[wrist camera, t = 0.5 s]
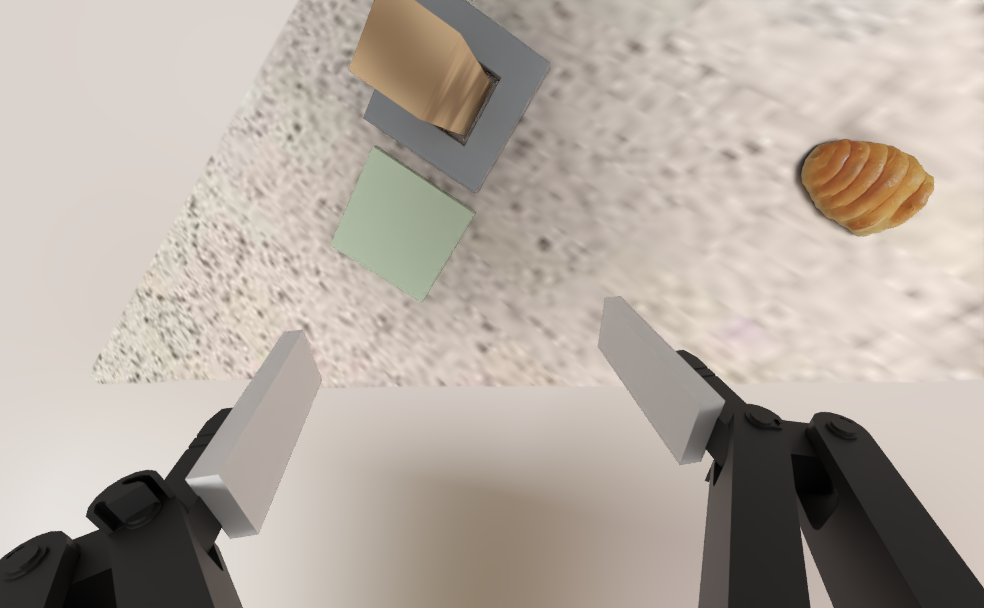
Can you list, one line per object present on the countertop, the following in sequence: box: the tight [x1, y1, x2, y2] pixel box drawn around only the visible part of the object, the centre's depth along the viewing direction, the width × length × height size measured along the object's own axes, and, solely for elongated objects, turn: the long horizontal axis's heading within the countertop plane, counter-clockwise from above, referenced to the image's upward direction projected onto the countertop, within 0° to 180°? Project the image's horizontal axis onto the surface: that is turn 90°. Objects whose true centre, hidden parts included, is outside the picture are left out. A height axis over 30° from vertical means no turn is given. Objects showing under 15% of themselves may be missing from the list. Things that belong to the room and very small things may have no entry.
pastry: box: [801, 139, 934, 236], centre depth 30 cm, size 9×7×4 cm
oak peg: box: [349, 0, 492, 136], centre depth 27 cm, size 5×5×14 cm
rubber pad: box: [331, 146, 476, 302], centre depth 38 cm, size 12×12×1 cm
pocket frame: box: [363, 0, 550, 193], centre depth 32 cm, size 12×12×2 cm
